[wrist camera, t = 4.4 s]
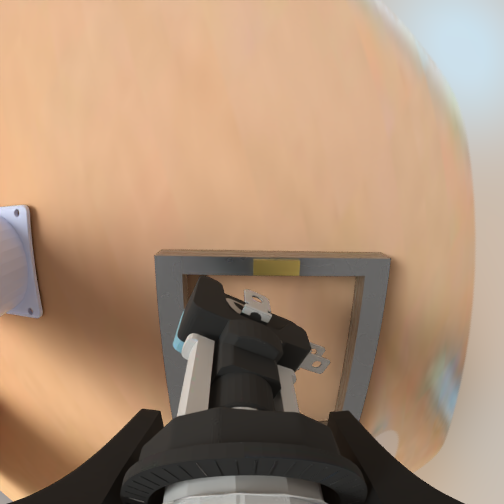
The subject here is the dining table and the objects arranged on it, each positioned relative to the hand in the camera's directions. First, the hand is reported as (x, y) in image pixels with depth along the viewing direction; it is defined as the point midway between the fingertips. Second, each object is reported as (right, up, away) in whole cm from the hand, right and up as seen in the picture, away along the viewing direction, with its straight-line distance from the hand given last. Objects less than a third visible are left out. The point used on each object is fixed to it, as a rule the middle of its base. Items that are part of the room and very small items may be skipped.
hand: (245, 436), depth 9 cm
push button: (0, +3, +5) cm, 6 cm away
